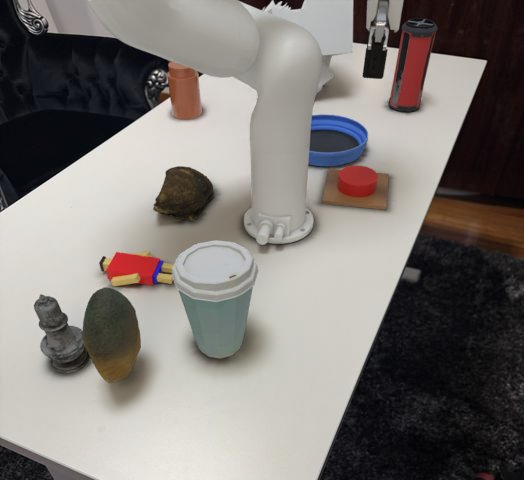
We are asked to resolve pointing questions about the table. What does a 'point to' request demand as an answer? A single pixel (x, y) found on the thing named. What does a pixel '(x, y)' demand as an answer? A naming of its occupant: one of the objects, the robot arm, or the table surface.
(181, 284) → the disposable coffee cup
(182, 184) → the seashell
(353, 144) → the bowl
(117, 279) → the toy figure
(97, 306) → the mango
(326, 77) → the jagged white slab
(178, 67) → the jar
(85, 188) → the table surface
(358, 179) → the lid
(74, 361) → the grey chess piece
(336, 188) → the coaster
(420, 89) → the speaker
